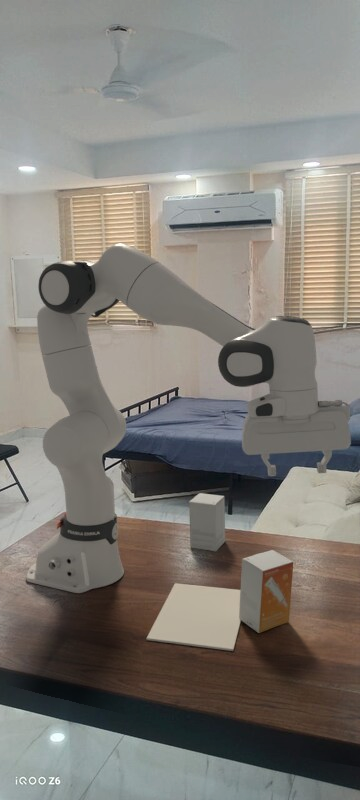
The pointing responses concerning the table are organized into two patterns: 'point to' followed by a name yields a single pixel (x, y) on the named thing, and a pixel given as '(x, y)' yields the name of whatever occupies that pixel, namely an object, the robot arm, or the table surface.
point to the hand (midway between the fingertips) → (296, 473)
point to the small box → (265, 590)
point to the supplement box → (207, 521)
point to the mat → (199, 617)
